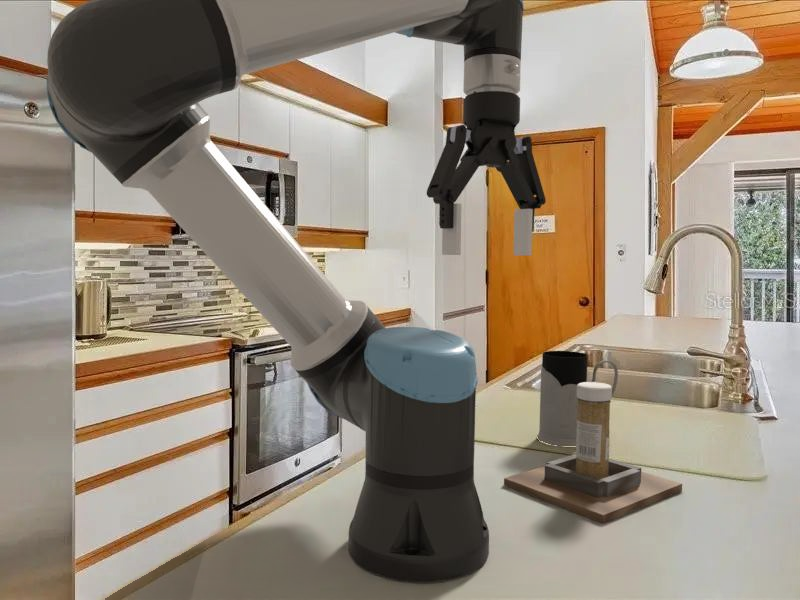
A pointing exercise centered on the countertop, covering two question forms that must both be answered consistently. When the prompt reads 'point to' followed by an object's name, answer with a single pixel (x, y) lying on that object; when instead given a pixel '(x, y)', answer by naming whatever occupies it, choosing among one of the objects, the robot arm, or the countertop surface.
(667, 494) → the socket board
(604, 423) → the sprinkles bottle
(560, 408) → the grey mug
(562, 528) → the countertop surface
